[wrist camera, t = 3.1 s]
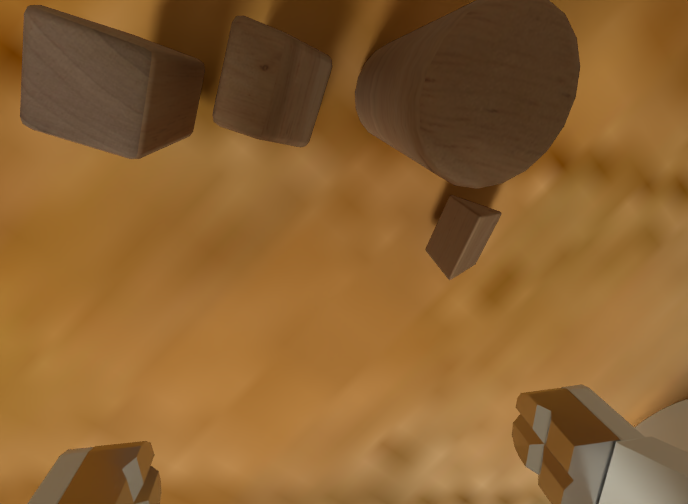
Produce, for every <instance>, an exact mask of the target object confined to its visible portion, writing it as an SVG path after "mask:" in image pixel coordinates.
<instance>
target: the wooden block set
mask: <svg viewBox="0 0 688 504" xmlns="http://www.w3.org/2000/svg"><path fill="white" fill-rule="evenodd" d="M331 69H332V60H331V58H330V57H329V56H328V55H326V54H325V53H323V52H321V51H319V50H317V49H315V48H313V47H311V46H309V45H308V44H306V43H304V42H302V41H300V40H298V39H296V38H294V37H292V36H291V35H289V34H287V33H285V32H282V31H280V30H277V29H275V28H273V27H270V26H268V25H265V24H263V23H260V22H258V21H255V20H253V19H251V18H248V17H246V16H236V18H235V19H234V20H233V22H232V25H231V30H230V35H229V40H228V44H227V49H226V54H225V58H224V63H223V68H222V73H221V77H220V82H219V87H218V91H217V96H216V101H215V105H214V110H213V120H214V122H215V123H216V124H217V125H219V126H221V127H224V128H227V129H229V130H232V131H235V132H238V133H241V134H244V135H247V136H250V137H253V138H256V139H260V140H265V141H271V142H276V143H281V144H286V145H291V146H296V147H304V146H306V145H307V144H308V143H309V141H310V138H311V134H312V131H313V128H314V125H315V121H316V118H317V115H318V112H319V108H320V105H321V102H322V99H323V95H324V92H325V89H326V86H327V82H328V79H329V76H330V73H331ZM579 71H580V62H579V53H578V44H577V38H576V36H575V33H574V31H573V29H572V27H571V25H570V23H569V21H568V19H567V17H566V15H565V14H564V13H563V12H562V11H561V10H560V9H559V8H557V7H556V6H555V5H554V4H553V3H552V2H550V1H549V0H476V1H474V2H472V3H470V4H468V5H466V6H464V7H462V8H460V9H458V10H456V11H454V12H452V13H450V14H447V15H445V16H443V17H441V18H439V19H437V20H435V21H433V22H431V23H429V24H427V25H425V26H423V27H421V28H419V29H417V30H415V31H413V32H411V33H409V34H407V35H405V36H402V37H400V38H398V39H396V40H394V41H392V42H390V43H388V44H387V45H385V46H383V47H382V48H380V49H378V50H377V51H375V52H374V54H373V55H372V56H371V57H370V58H369V59H368V60H367V61H366V63H365V64H364V66H363V68H362V71H361V73H360V75H359V77H358V80H357V86H356V91H355V102H356V110H357V113H358V116H359V118H360V121H361V123H362V124H363V125H364V127H365V128H366V129H367V130H368V132H369V133H371V134H373V135H374V136H376V137H377V138H379V139H381V140H382V141H384V142H385V143H387V144H389V145H390V146H392V147H393V148H395V149H397V150H398V151H400V152H401V153H403V154H405V155H406V156H408V157H409V158H411V159H413V160H414V161H416V162H417V163H419V164H421V165H422V166H424V167H425V168H427V169H429V170H430V171H432V172H433V173H435V174H437V175H438V176H440V177H442V178H443V179H445V180H447V181H448V182H450V183H452V184H453V185H456V186H462V187H469V188H476V189H477V188H482V187H487V186H492V185H497V184H501V183H504V182H506V181H507V180H509V179H511V178H513V177H515V176H516V175H518V174H520V173H522V172H524V171H526V170H527V169H528V168H529V167H530V166H531V165H532V164H533V163H535V162H536V161H537V160H538V159H539V158H540V157H541V156H542V155H543V154H544V153H545V152H546V151H547V150H548V149H549V147H550V146H551V144H552V143H553V141H554V140H555V139H556V137H557V136H558V134H559V133H560V131H561V130H562V128H563V127H564V125H565V122H566V120H567V117H568V115H569V112H570V110H571V107H572V105H573V102H574V100H575V97H576V91H577V84H578V78H579ZM204 73H205V67H204V63H202V62H201V61H200V60H199V59H197V58H194V57H191V56H189V55H186V54H183V53H181V52H178V51H175V50H173V49H170V48H167V47H164V46H162V45H159V44H156V43H154V42H151V41H148V40H146V39H143V38H140V37H138V36H135V35H132V34H129V33H126V32H123V31H120V30H117V29H114V28H111V27H107V26H104V25H101V24H98V23H95V22H92V21H89V20H86V19H83V18H79V17H76V16H73V15H70V14H67V13H64V12H61V11H58V10H55V9H51V8H48V7H45V6H42V5H30V6H27V9H26V11H25V13H24V31H23V57H22V82H21V108H20V117H21V120H22V123H23V124H24V125H26V126H27V127H29V128H31V129H33V130H36V131H39V132H42V133H45V134H49V135H52V136H55V137H59V138H62V139H65V140H69V141H72V142H75V143H79V144H82V145H85V146H89V147H92V148H95V149H99V150H102V151H105V152H109V153H112V154H115V155H119V156H122V157H125V158H129V159H140V158H142V157H144V156H146V155H149V154H151V153H153V152H155V151H158V150H160V149H162V148H164V147H167V146H169V145H171V144H173V143H175V142H178V141H180V140H182V139H184V138H187V137H189V136H190V135H191V134H192V132H193V129H194V124H195V119H196V114H197V109H198V104H199V99H200V94H201V89H202V83H203V78H204ZM500 216H501V212H500V211H497V210H494V209H491V208H488V207H485V206H482V205H479V204H476V203H474V202H471V201H468V200H465V199H462V198H459V197H456V196H453V195H450V197H449V199H448V201H447V203H446V205H445V208H444V210H443V212H442V214H441V216H440V218H439V221H438V223H437V225H436V227H435V229H434V231H433V234H432V236H431V238H430V240H429V242H428V245H427V247H426V251H427V253H428V254H429V255H430V257H431V258H432V259H433V260H434V262H435V263H436V264H437V265H438V267H439V268H440V269H441V271H442V272H443V273H444V274H445V276H446V277H447V278H448V279H449V280H451V279H453V278H454V277H456V276H457V275H459V274H461V273H462V272H464V271H465V270H467V269H469V268H470V267H472V266H473V265H475V264H476V262H477V260H478V258H479V256H480V254H481V253H482V251H483V249H484V247H485V245H486V243H487V241H488V239H489V237H490V235H491V233H492V231H493V229H494V228H495V226H496V224H497V222H498V220H499V218H500Z"/></svg>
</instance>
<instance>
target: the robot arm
mask: <svg viewBox="0 0 688 504" xmlns="http://www.w3.org/2000/svg"><path fill="white" fill-rule="evenodd" d="M516 408H517V410H518V411H519V412H520V415H519V416H518V418H517V419H516V420H515V421H514V422H513V429H512V437H513V442H514V447H515V449H516V451H517V453H518V456H519V457H520V459H521V460H522V462H523V463H524V465H525V466H526V467H527V468H529V469H530V470H532V471H533V472H535V473H537V474H538V485H539V487H540V488H541V489H542V491H543V492H544V494H545V495H546V497H547V498H548V499H549V501H550V502H551V504H688V399H686V400H683V401H680V402H678V403H675V404H673V405H670V406H668V407H666V408H664V409H662V410H660V411H658V412H657V413H655V414H653V415H652V416H650V417H649V418H647V419H645V420H644V421H643V422H641V423H640V424H639V425H637V426H636V427H635V428H634V427H633V426H632V425H631V424H630V423H628V422H627V421H626V420H625V419H624V418H623V417H622V416H620V415H619V414H618V413H617V412H616V411H615V410H614V409H613V408H611V407H610V406H609V405H608V404H607V403H606V402H605V401H603V400H602V399H601V398H600V397H599V396H598V395H597V394H595V393H594V392H593V391H592V390H591V389H590V388H588V387H586V386H584V385H575V386H568V387H562V388H555V389H548V390H541V391H533V392H526V393H521V394H520V395H519V397H518V398H517V403H516ZM153 457H154V452H153V448H152V445H151V443H150V442H147V441H142V442H133V443H123V444H113V445H104V446H95V447H91V448H80V449H70V450H67V451H66V452H64V453H63V454H62V455H60V457H59V458H58V459H57V461H56V462H55V464H54V465H53V467H52V468H51V470H50V471H49V473H48V474H47V476H46V477H45V479H44V480H43V482H42V483H41V485H40V486H39V487H38V489H37V490H36V492H35V493H34V495H33V496H32V498H31V499H30V501H29V502H28V504H160V498H161V480H160V475H159V471H157V470H156V469H155V468H153V467H152V466H150V465H151V463H152V460H153Z"/></svg>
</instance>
